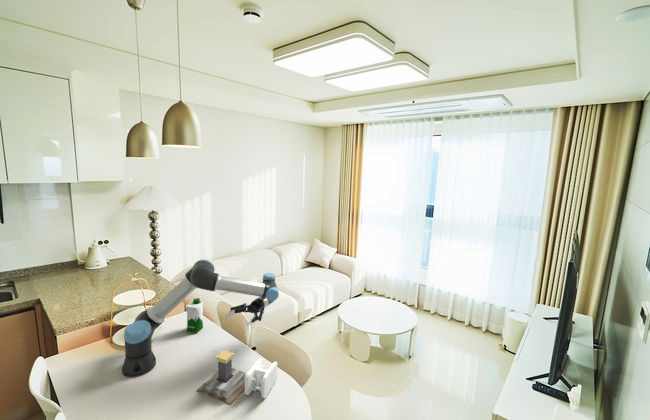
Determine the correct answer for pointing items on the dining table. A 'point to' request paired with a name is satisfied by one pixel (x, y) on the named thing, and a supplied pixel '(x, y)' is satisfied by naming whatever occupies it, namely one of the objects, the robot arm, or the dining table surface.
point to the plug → (224, 366)
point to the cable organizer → (260, 378)
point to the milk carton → (194, 316)
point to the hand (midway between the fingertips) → (236, 320)
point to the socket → (224, 386)
